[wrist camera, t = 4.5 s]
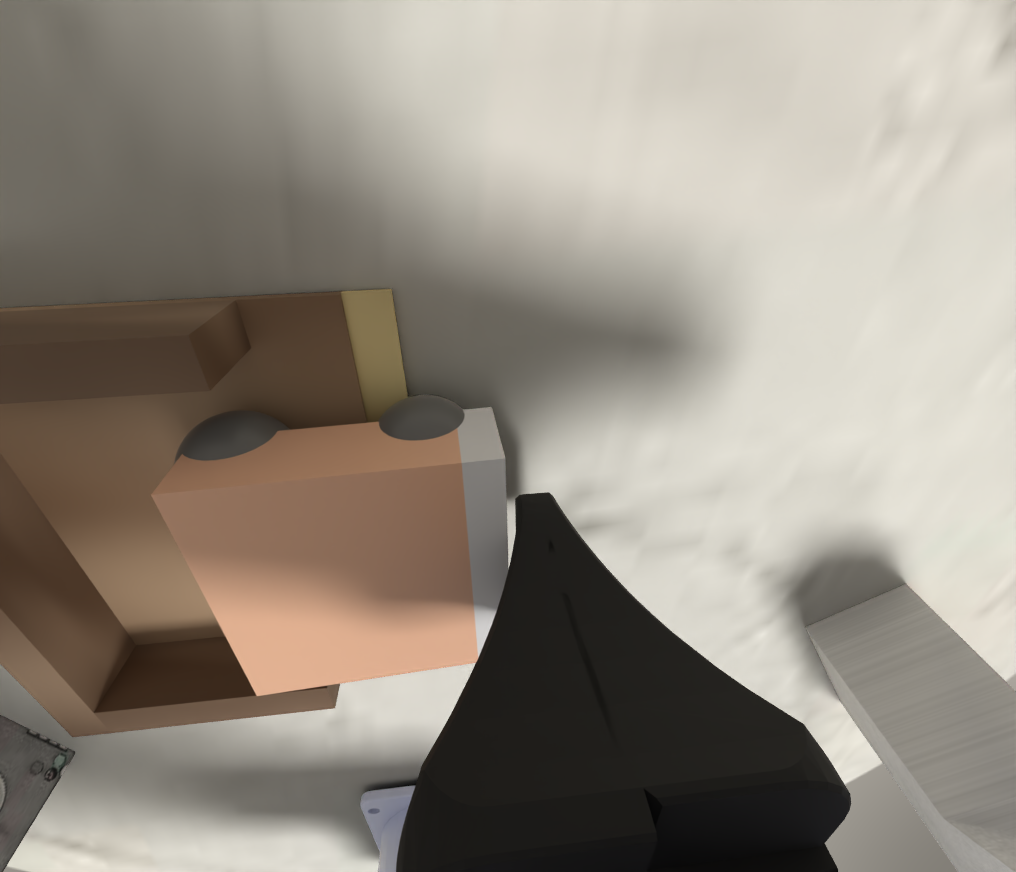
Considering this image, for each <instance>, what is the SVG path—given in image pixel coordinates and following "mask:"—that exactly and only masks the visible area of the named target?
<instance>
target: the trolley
mask: <svg viewBox="0 0 1016 872" xmlns="http://www.w3.org/2000/svg"><path fill="white" fill-rule="evenodd" d="M151 496H152V498H153V500H154V502H155V504H156V506H157V507H158V509H159V511H160V513H161V515H162V517H163V519H164V521H165V523H166V525H167V526H168V528H169V530H170V532H171V534H172V536H173V538H174V540H175V542H176V543H177V545H178V547H179V549H180V551H181V553H182V555H183V557H184V559H185V561H186V562H187V564H188V566H189V568H190V570H191V572H192V574H193V576H194V578H195V580H196V581H197V583H198V585H199V587H200V589H201V591H202V593H203V595H204V597H205V599H206V600H207V602H208V604H209V606H210V608H211V610H212V612H213V614H214V616H215V617H216V619H217V621H218V623H219V625H220V627H221V629H222V631H223V633H224V635H225V636H226V638H227V640H228V642H229V644H230V646H231V648H232V650H233V652H234V654H235V655H236V657H237V659H238V661H239V663H240V665H241V667H242V669H243V671H244V673H245V674H246V676H247V678H248V680H249V682H250V684H251V686H252V688H253V690H254V692H255V693H256V695H257V696H262V695H268V694H275V693H281V692H288V691H294V690H301V689H307V688H314V687H320V686H327V685H333V684H340V683H346V682H353V681H359V680H366V679H372V678H379V677H385V676H392V675H398V674H405V673H411V672H418V671H425V670H431V669H438V668H444V667H451V666H457V665H464V664H470V663H476V662H477V660H478V657H479V655H480V653H481V650H482V648H483V645H484V643H485V640H486V638H487V635H488V633H489V630H490V628H491V625H492V622H493V619H494V617H495V614H496V611H497V608H498V605H499V602H500V599H501V596H502V592H503V589H504V585H505V581H506V578H507V574H508V537H507V499H506V460H505V455H504V451H503V447H502V443H501V440H500V436H499V432H498V428H497V425H496V421H495V417H494V413H493V410H492V407H486V408H475V409H462V408H461V407H460V406H459V405H457V404H456V403H454V402H453V401H451V400H448V399H446V398H443V397H440V396H435V395H416V396H411V397H408V398H405V399H403V400H400V401H399V402H397V403H395V404H394V405H392V406H391V407H390V408H388V409H387V410H386V411H385V412H384V413H383V414H382V416H381V417H380V418H379V420H378V421H377V422H370V423H359V424H348V425H337V426H326V427H315V428H304V429H293V430H290V429H289V428H288V427H287V426H286V425H284V424H283V423H282V422H280V421H279V420H277V419H275V418H273V417H271V416H269V415H266V414H263V413H259V412H255V411H247V410H237V411H229V412H224V413H220V414H217V415H215V416H212V417H210V418H208V419H206V420H204V421H203V422H201V423H199V424H198V425H197V426H196V427H194V428H193V429H192V430H191V431H190V432H189V433H188V434H187V435H186V437H185V438H184V440H183V441H182V443H181V444H180V446H179V448H178V451H177V454H176V457H175V461H174V465H173V467H172V468H171V469H170V471H169V472H168V473H167V474H166V476H165V477H164V478H163V480H162V481H161V482H160V484H159V485H158V486H157V488H156V489H155V490H154V492H153V493H152V494H151Z"/></svg>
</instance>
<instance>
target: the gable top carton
mask: <svg viewBox="0 0 1016 872" xmlns="http://www.w3.org/2000/svg"><path fill="white" fill-rule="evenodd" d="M805 628H806V630H807V632H808V635H809V637H810V639H811V641H812V643H813V645H814V647H815V649H816V651H817V653H818V655H819V658H820V660H821V662H822V664H823V666H824V668H825V670H826V672H827V674H828V676H829V678H830V681H831V683H832V685H833V687H834V689H835V691H836V693H837V695H838V697H839V699H840V701H841V703H842V705H843V706H844V708H845V709H846V710H847V712H848V713H849V715H850V716H851V718H852V719H853V721H854V722H855V723H856V725H857V726H858V728H859V729H860V731H861V732H862V734H863V735H864V736H865V738H866V739H867V741H868V742H869V744H870V745H871V747H872V748H873V749H874V751H875V752H876V754H877V755H878V757H879V758H880V760H881V761H882V763H883V764H884V765H885V767H886V768H887V769H888V771H889V773H890V774H891V775H892V777H893V778H894V780H895V781H896V783H897V784H898V786H899V787H900V789H901V790H902V791H903V793H904V794H905V796H906V797H907V799H908V800H909V802H910V803H911V804H912V806H913V807H914V809H915V810H916V812H917V813H918V815H919V816H920V818H921V819H922V820H923V822H924V823H925V825H926V826H927V828H928V829H929V830H930V832H931V833H932V835H933V836H934V838H935V839H936V841H937V842H938V844H939V845H940V846H941V848H942V849H943V851H944V852H945V854H946V855H947V857H948V858H949V859H950V861H951V862H952V864H953V865H954V867H955V868H956V869H957V871H958V872H1016V691H1015V690H1014V689H1013V688H1012V687H1011V686H1010V685H1009V684H1008V683H1007V682H1006V681H1005V680H1004V679H1003V678H1002V677H1001V676H1000V675H999V674H998V673H997V672H996V671H995V670H994V669H993V668H992V667H990V666H989V665H988V664H987V663H986V662H985V661H984V660H983V659H982V658H981V657H980V656H979V655H978V654H977V653H976V652H975V651H974V650H973V649H972V648H971V647H970V646H969V645H968V644H967V643H966V642H965V641H964V640H963V639H962V638H961V637H960V636H959V635H958V634H957V633H956V632H955V631H954V630H953V629H952V628H951V627H950V626H949V625H948V624H947V623H946V622H945V621H944V620H942V619H941V618H940V617H939V616H938V615H937V614H936V613H935V612H934V611H933V610H932V609H931V608H930V607H929V606H928V605H927V604H926V603H925V602H924V601H923V600H922V599H921V598H920V597H919V596H918V595H917V594H916V593H915V592H914V591H913V590H912V589H911V588H910V587H909V586H908V585H907V584H904V585H902V586H899V587H897V588H895V589H892V590H890V591H888V592H885V593H883V594H881V595H878V596H876V597H874V598H871V599H869V600H867V601H865V602H862V603H860V604H858V605H855V606H853V607H851V608H848V609H846V610H844V611H841V612H839V613H837V614H834V615H832V616H830V617H827V618H825V619H823V620H820V621H818V622H816V623H813V624H811V625H809V626H806V627H805Z"/></svg>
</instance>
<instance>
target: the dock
mask: <svg viewBox="0 0 1016 872" xmlns="http://www.w3.org/2000/svg"><path fill="white" fill-rule="evenodd" d="M405 398H408V394H407V388H406V381H405V374H404V368H403V361H402V355H401V348H400V341H399V335H398V328H397V321H396V315H395V308H394V301H393V295H392V289H379V290H359V291H339V292H318V293H298V294H278V295H258V296H237V297H217V298H197V299H176V300H156V301H136V302H116V303H95V304H75V305H55V306H34V307H14V308H0V664H1V665H2V666H3V667H4V668H5V669H6V670H7V671H8V672H9V673H10V674H11V675H12V676H13V677H14V678H15V679H16V680H17V681H18V682H19V683H20V684H21V685H22V686H23V687H24V688H25V689H26V690H27V691H28V692H29V693H30V694H31V695H32V696H33V697H34V698H35V699H36V700H37V701H38V702H39V703H40V704H41V705H42V706H43V708H44V709H45V710H46V711H47V712H48V713H49V714H50V715H51V716H52V717H53V718H54V719H55V720H56V721H57V722H58V723H59V724H60V725H61V726H62V727H63V728H64V729H65V730H66V731H67V732H68V733H69V734H70V735H71V736H72V737H79V736H88V735H97V734H106V733H115V732H124V731H133V730H142V729H151V728H160V727H169V726H178V725H187V724H196V723H205V722H215V721H224V720H233V719H242V718H251V717H260V716H269V715H278V714H287V713H296V712H305V711H314V710H323V709H332V708H335V705H336V701H337V696H338V691H339V686H340V684H333V685H327V686H320V687H314V688H307V689H301V690H294V691H288V692H281V693H275V694H268V695H262V696H257V695H256V693H255V692H254V690H253V688H252V686H251V684H250V682H249V680H248V678H247V676H246V674H245V673H244V671H243V669H242V667H241V665H240V663H239V661H238V659H237V657H236V655H235V654H234V652H233V650H232V648H231V646H230V644H229V642H228V640H227V638H226V636H225V635H224V633H223V631H222V629H221V627H220V625H219V623H218V621H217V619H216V617H215V616H214V614H213V612H212V610H211V608H210V606H209V604H208V602H207V600H206V599H205V597H204V595H203V593H202V591H201V589H200V587H199V585H198V583H197V581H196V580H195V578H194V576H193V574H192V572H191V570H190V568H189V566H188V564H187V562H186V561H185V559H184V557H183V555H182V553H181V551H180V549H179V547H178V545H177V543H176V542H175V540H174V538H173V536H172V534H171V532H170V530H169V528H168V526H167V525H166V523H165V521H164V519H163V517H162V515H161V513H160V511H159V509H158V507H157V506H156V504H155V502H154V500H153V498H152V496H151V494H152V493H153V492H154V490H155V489H156V488H157V486H158V485H159V484H160V482H161V481H162V480H163V478H164V477H165V476H166V474H167V473H168V472H169V471H170V469H171V468H172V467H173V465H174V461H175V457H176V454H177V451H178V448H179V446H180V444H181V443H182V441H183V440H184V438H185V437H186V435H187V434H188V433H189V432H190V431H191V430H192V429H193V428H194V427H196V426H197V425H198V424H199V423H201V422H203V421H204V420H206V419H208V418H210V417H212V416H215V415H217V414H220V413H224V412H229V411H237V410H247V411H255V412H259V413H263V414H266V415H269V416H271V417H273V418H275V419H277V420H279V421H280V422H282V423H283V424H284V425H286V426H287V427H288V428H289V429H290V430H293V429H304V428H315V427H326V426H337V425H348V424H359V423H370V422H377V421H378V420H379V418H380V417H381V416H382V414H383V413H384V412H385V411H386V410H387V409H388V408H390V407H391V406H392V405H394V404H395V403H397V402H399V401H400V400H403V399H405Z"/></svg>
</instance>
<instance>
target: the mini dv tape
mask: <svg viewBox="0 0 1016 872" xmlns="http://www.w3.org/2000/svg"><path fill="white" fill-rule="evenodd" d="M74 755H75V751H72V750H70V749H68V748H66V747H64V746H62V745H60V744H58V743H56V742H54V741H52V740H50V739H48V738H46V737H44V736H42V735H40V734H38V733H36V732H34V731H32V730H30V729H28V728H26V727H24V726H22V725H19V724H17V723H15V722H13V721H11V720H9V719H7V718H5V717H3V716H1V715H0V872H3V871H4V869H5V867H6V866H7V864H8V862H9V861H10V859H11V857H12V856H13V854H14V853H15V851H16V849H17V848H18V846H19V844H20V843H21V841H22V840H23V838H24V836H25V835H26V833H27V831H28V830H29V828H30V826H31V825H32V823H33V822H34V820H35V818H36V817H37V815H38V813H39V812H40V810H41V809H42V807H43V805H44V804H45V802H46V800H47V799H48V797H49V796H50V794H51V792H52V791H53V789H54V787H55V786H56V784H57V782H58V781H59V779H60V778H61V776H62V774H63V773H64V771H65V769H66V768H67V766H68V765H69V763H70V761H71V760H72V758H73V756H74Z"/></svg>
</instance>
